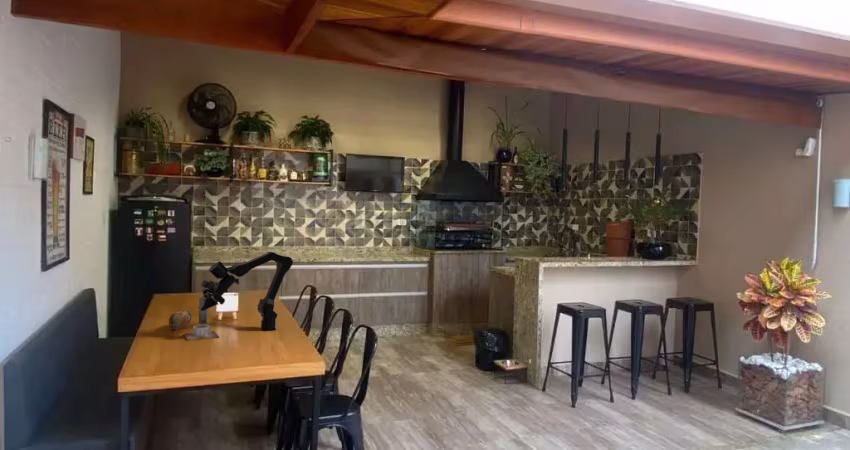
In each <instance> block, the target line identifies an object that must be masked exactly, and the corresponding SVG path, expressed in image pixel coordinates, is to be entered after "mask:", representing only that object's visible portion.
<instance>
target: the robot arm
mask: <svg viewBox="0 0 850 450" xmlns="http://www.w3.org/2000/svg"><path fill="white" fill-rule="evenodd" d="M270 261H273V262H274V263H276V264H275V265H276V267H275V268H276V269H275V272H274V276H273V278H272V281H271V283H270V286H269V288H268V290H267V293H266V295H265V296H264V298H260V299H259V301H258V302H259V303H258V304H257V305H256V306H257V312H258V313H259V314H260V316H261V320H260V330H262V331H264V332H265V331H268V332H269V331H276V330H277V328H276V319H277V318H278V313H276V312H275V310H274V309H275V299H276V297H277V295H278V292H279V290H280V287H281V284H282V282H283V279H284V277H285V275H286V274H287V272H289V271H290V270H291V267H292V266H293V264H294V261H293V258H292V257H291V256H287V255H280V254H277V253H276V252H273V251H267V252H266V253H264V254H262V255H259V256H257V257H255V258H252V259H251V260H247V261H244V262H239V263H236V264H235V263H234V264H233V265H231V266H228V267H226V266H225V265H224V264H223V263H222V262H221V261H217V262H215V263H214V264H213V265H211V266H210V267H209V269H208V272H209V273H211V275H213V277H215V279H220V280H219V281H218V282H215V281H213V280H209V281H207V280H205V279H203V280H202V282H201V284H200V287H203V289H201V291H200V292H201V293H202V297H207V301H206V303H205V304H204V305H203V307H202V308H201V310H202V311H204V310H206V309H207V310H208V309H210V308H212V307H215V306H218V305H224V304H225V302H226V300H225V298H224V297H223V295H224V294H226V293H228V292H229V289H230V288H231V286H233V285H234V284H236V285H240V278H241V277H244V276H245V275H246V274H248V273H249V272H250V271H251V270H252V269H255V268H257V267H260V266H261V265H264V264H266V263H268V262H270ZM236 277H237V278H236ZM197 309H198V310H199V306H198V307H197Z"/></svg>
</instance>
